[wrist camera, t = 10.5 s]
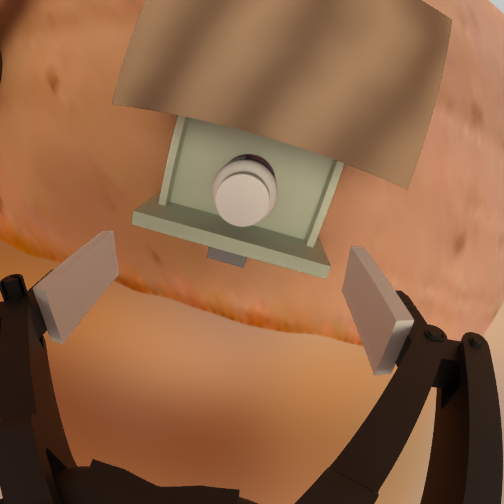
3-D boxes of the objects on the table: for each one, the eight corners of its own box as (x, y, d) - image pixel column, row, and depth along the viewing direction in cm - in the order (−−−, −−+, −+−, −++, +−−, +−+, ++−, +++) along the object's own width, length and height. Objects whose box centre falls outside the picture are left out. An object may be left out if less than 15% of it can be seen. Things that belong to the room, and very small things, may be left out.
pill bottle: (285, 186, 30) (293, 213, 21) (241, 212, 32) (232, 248, 23) (256, 142, 28) (253, 149, 20) (212, 170, 30) (190, 190, 21)
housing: (176, 111, 29) (111, 104, 16) (211, 3, 24) (177, -64, 10) (348, 161, 31) (407, 189, 17) (381, 54, 25) (452, 20, 12)
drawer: (152, 223, 34) (128, 246, 28) (183, 89, 28) (161, 80, 21) (307, 266, 36) (316, 298, 29) (355, 139, 29) (378, 143, 23)
